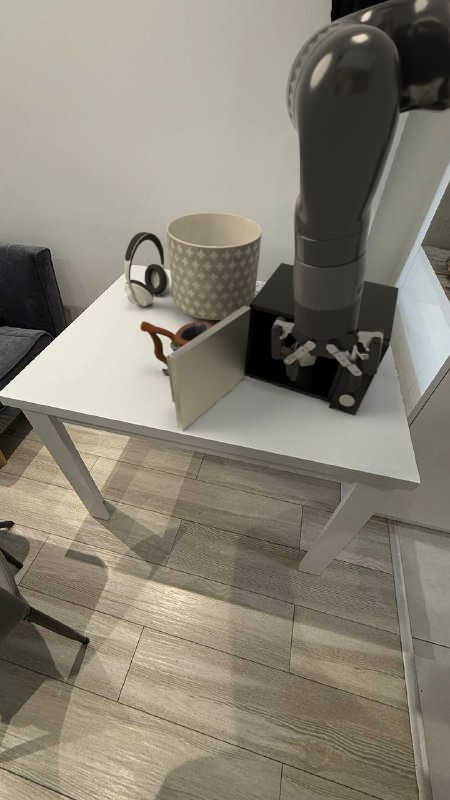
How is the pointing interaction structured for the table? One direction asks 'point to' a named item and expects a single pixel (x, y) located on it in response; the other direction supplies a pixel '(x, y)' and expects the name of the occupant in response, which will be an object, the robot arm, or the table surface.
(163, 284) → the headphones
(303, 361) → the pepper shaker
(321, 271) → the robot arm
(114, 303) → the table surface
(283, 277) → the microwave
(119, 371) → the table surface
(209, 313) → the planter
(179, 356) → the microwave door
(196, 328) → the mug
